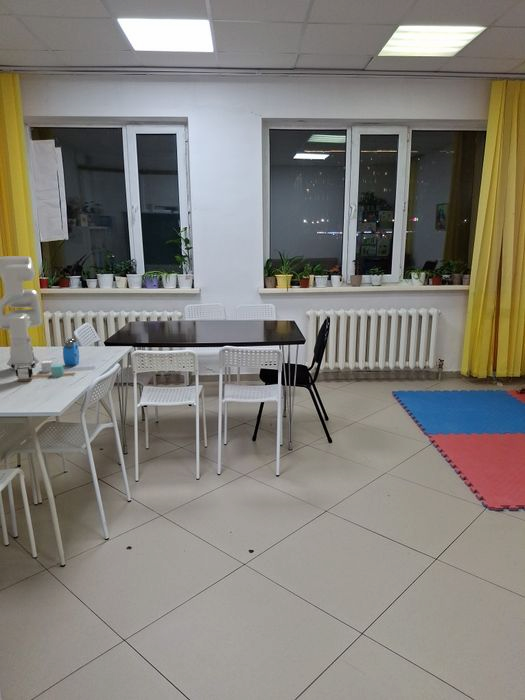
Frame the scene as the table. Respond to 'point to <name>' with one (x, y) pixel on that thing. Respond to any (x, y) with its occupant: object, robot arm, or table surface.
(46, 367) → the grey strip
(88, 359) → the table surface
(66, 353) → the alarm clock
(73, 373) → the walnut strip
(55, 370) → the teal cube
